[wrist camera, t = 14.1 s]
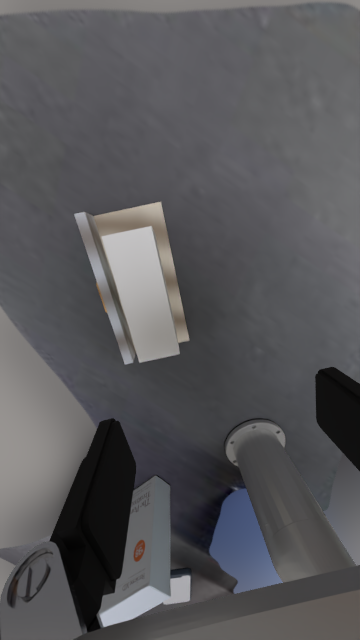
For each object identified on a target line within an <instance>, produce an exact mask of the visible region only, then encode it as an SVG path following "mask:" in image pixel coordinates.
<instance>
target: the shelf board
mask: <svg viewBox="0 0 360 640" xmlns="http://www.w3.org/2000/svg"><path fill="white" fill-rule="evenodd" d="M74 215H75V218H76V221H77V224H78V227H79V230H80V233H81V236H82V239H83V242H84V245H85V248H86V251H87V254H88V257H89V260H90V262H91V265H92V268H93V271H94V274H95V277H96V280H97V283H96V285H97V288H98V291H99V294H100V297H101V300H102V303H103V306H104V308H105V311H106V312H107V313H108V316H109V319H110V322H111V324H112V327H113V330H114V333H115V336H116V339H117V342H118V345H119V348H120V351H121V354H122V357H123V360H124V363H125V364H129V363H133V361H134V357H135V354H136V349H135V346H134V343H133V340H132V336H131V333H130V330H129V326H128V323H127V320H126V316H125V313H124V310H123V306H122V303H121V300H120V297H119V293H118V290H117V287H116V283H115V280H114V277H113V273H112V270H111V267H110V263H109V260H108V257H107V254H106V250H105V247H104V244H103V240H102V237H101V236H106V235H110V234H115V233H120V232H125V231H130V230H134V229H139V228H144V227H149V226H152V228H153V230H154V233H155V235H156V240H157V245H158V249H159V254H160V258H161V263H162V267H163V272H164V276H165V281H166V286H167V290H168V295H169V299H170V304H171V308H172V313H173V317H174V322H175V328H176V333H177V339H178V343H180V342H185V341H189V336H188V331H187V326H186V321H185V316H184V311H183V307H182V302H181V297H180V292H179V287H178V283H177V278H176V273H175V268H174V263H173V258H172V254H171V249H170V244H169V239H168V234H167V229H166V225H165V220H164V215H163V210H162V205H161V202H157V203H153V204H148V205H143V206H139V207H134V208H129V209H125V210H120V211H115V212H111V213H106V214H101V215H97V216H92V215H90V214H88V213H86V212H81V213H77V214H74Z"/></svg>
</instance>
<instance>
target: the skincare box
mask: <svg viewBox="0 0 360 640" xmlns="http://www.w3.org/2000/svg"><path fill="white" fill-rule="evenodd" d="M170 597H171V588H170V485H168V484H167V483H166V482H164V481H163V480H162V479H160V478H159V477H157V476H154V477H153V478H151V479H150V480H148V481H147V482H145V483H144V484H142V485H141V486H140V487H138V488H137V489H135V490H134V491H133V496H132V503H131V511H130V518H129V525H128V533H127V540H126V547H125V554H124V562H123V569H122V574H121V577H120V578H119V579H117V580H116V587H115V593H112V594H108V595H104V596H103V597H102V603H101V608H100V610H99V615H100V618H101V621H102V623H103V626H104V627H107V626H109V625H113V624H117V623H120V622H124V621H128V620H132V619H133V618H135V617H137V616H139V615H141V614H142V613H144V612H146V611H148V610H150V609H151V608H153V607H155V606H157V605H159V604H160V603H162V602H164V601H165V600H167V599H169V598H170Z"/></svg>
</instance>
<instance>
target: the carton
mask: <svg viewBox="0 0 360 640" xmlns="http://www.w3.org/2000/svg"><path fill="white" fill-rule="evenodd" d="M101 237H102V240H103V244H104V247H105V250H106V254H107V257H108V260H109V263H110V267H111V270H112V273H113V277H114V280H115V283H116V287H117V290H118V293H119V297H120V300H121V303H122V306H123V310H124V313H125V316H126V320H127V323H128V326H129V330H130V333H131V336H132V340H133V343H134V346H135V349H136V353H137V356H138V359H139V363H141V362H146V361H150V360H155V359H159V358H164V357H169V356H173V355H178V354H180V351H179V345H178V339H177V333H176V328H175V322H174V317H173V313H172V308H171V304H170V299H169V295H168V290H167V286H166V281H165V276H164V272H163V267H162V263H161V258H160V254H159V249H158V245H157V240H156V235H155V233H154V230H153V228H152V226H149V227H144V228H139V229H134V230H130V231H125V232H120V233H115V234H110V235H106V236H101Z"/></svg>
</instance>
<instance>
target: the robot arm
mask: <svg viewBox="0 0 360 640" xmlns="http://www.w3.org/2000/svg"><path fill="white" fill-rule="evenodd" d="M315 380H316V419H317V423H318V425H319V426H320V428H321V429H322V430H323V431H324V432H325V433H326V434H327V436H328V437H329V438H330V439H331V440H332V441H333V442H334V443H335V444H336V446H337V447H338V448H339V449H340V450H341V451H342V452H343V453H344V454H345V455H346V457H347V458H348V459H349V460H350V461H351V462H352V463H353V464H354V465H355V466H356V468H357V469H358V470H359V471H360V384H359V383H357V382H356V381H354V380H353V379H351V378H350V377H348V376H347V375H345V374H344V373H342V372H341V371H339V370H338V369H336V368H334V367H329V368H325V369H321V370H319V371H318V374H316V376H315ZM285 441H286V439H285V435H284V433H283V431H282V430H281V428H280V427H279V426H278V425H277V424H276V423H274V422H272V421H269V420H263V419H259V420H251V421H248V422H245V423H243V424H241V425H239V426H238V427H236V428H235V429H234V430H233V431H232V432H231V433H230V434H229V436H228V437H227V440H226V442H225V451H226V455H227V457H228V459H229V460H230V462H231V463H233V464H234V465H236V466H238V467H239V469H240V472H241V475H242V477H243V480H244V483H245V486H246V489H247V492H248V495H249V497H250V500H251V503H252V506H253V509H254V512H255V514H256V517H257V520H258V523H259V526H260V529H261V531H262V534H263V537H264V540H265V542H266V546H267V549H268V552H269V554H270V557H271V560H272V563H273V565H274V568H275V570H276V571H277V573H278V575H279V577H280V578H281V580H282V582H283V583H280V584H276V585H271V586H267V587H263V588H258V589H254V590H250V591H246V592H241V593H237V594H233V595H229V596H225V597H220V598H216V599H212V600H208V601H204V602H199V603H195V604H191V605H187V606H183V607H179V608H174V609H170V610H166V611H162V612H158V613H154V614H151V615H147V616H143V617H139V618H136V619H132V620H128V621H124V622H120V623H117V624H113V625H109V626H107V627H104V626H103V623H102V621H101V618H100V615H99V610H100V608H101V603H102V597H103V596H104V595H108V594H112V593H115V587H116V580H117V579H119V578H120V577H121V574H122V569H123V562H124V554H125V547H126V540H127V533H128V525H129V518H130V511H131V503H132V496H133V489H134V482H135V474H136V463H135V460H134V457H133V455H132V452H131V450H130V447H129V445H128V442H127V440H126V437H125V435H124V432H123V430H122V427H121V425H120V422H119V421H115V419H114V418H112V419H108V420H104V421H101V422H100V423H99V426H98V428H97V431H96V434H95V436H94V438H93V441H92V444H91V446H90V449H89V451H88V454H87V456H86V457H85V458H84V459H83V461H82V463H81V465H80V467H79V470H78V472H77V475H76V477H75V480H74V482H73V484H72V487H71V489H70V492H69V494H68V497H67V499H66V502H65V504H64V507H63V509H62V511H61V514H60V516H59V519H58V521H57V524H56V526H55V529H54V531H53V534H52V536H51V538H50V541H48V542H43V543H41V544H39V545H37V546H35V547H34V548H33V549H31V550H30V551H29V552H28V553H27V554H26V555H25V556H24V557H23V558H22V559H21V560H20V561H19V562H18V564H17V565H16V567H15V568H14V569H13V571H12V572H11V574H10V576H9V578H8V579H7V581H6V583H5V586H4V589H3V592H2V594H1V599H0V640H360V565H358V566H356V564H355V563H354V561H353V559H352V558H351V556H350V555H349V553H348V552H347V550H346V548H345V547H344V545H343V544H342V542H341V541H340V539H339V537H338V535H337V534H336V532H335V530H334V529H333V527H332V526H331V524H330V523H329V521H328V519H327V518H326V516H325V514H324V513H323V511H322V509H321V508H320V506H319V504H318V503H317V501H316V500H315V498H314V496H313V495H312V493H311V491H310V490H309V488H308V487H307V485H306V483H305V482H304V480H303V478H302V477H301V475H300V474H299V472H298V470H297V469H296V467H295V465H294V464H293V462H292V461H291V459H290V457H289V456H288V454H287V452H286V451H285V449H284V446H285Z"/></svg>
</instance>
